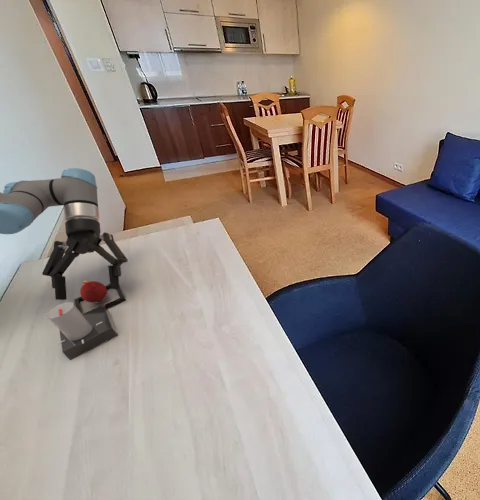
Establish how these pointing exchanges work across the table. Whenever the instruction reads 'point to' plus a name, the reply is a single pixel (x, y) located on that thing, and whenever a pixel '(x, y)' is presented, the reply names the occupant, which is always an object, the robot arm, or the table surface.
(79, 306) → the frame
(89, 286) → the onion
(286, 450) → the table surface
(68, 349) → the panel
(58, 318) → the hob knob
